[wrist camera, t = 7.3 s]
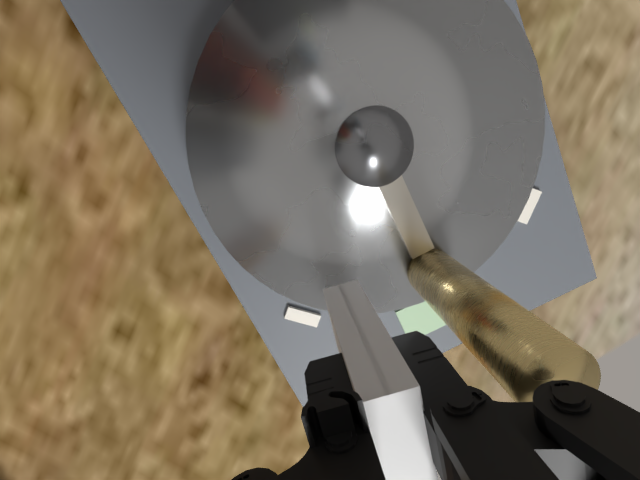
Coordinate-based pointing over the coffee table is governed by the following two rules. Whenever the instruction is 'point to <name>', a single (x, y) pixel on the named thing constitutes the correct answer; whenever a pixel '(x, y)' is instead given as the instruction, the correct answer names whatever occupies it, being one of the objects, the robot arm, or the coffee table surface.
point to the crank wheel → (379, 162)
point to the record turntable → (257, 299)
